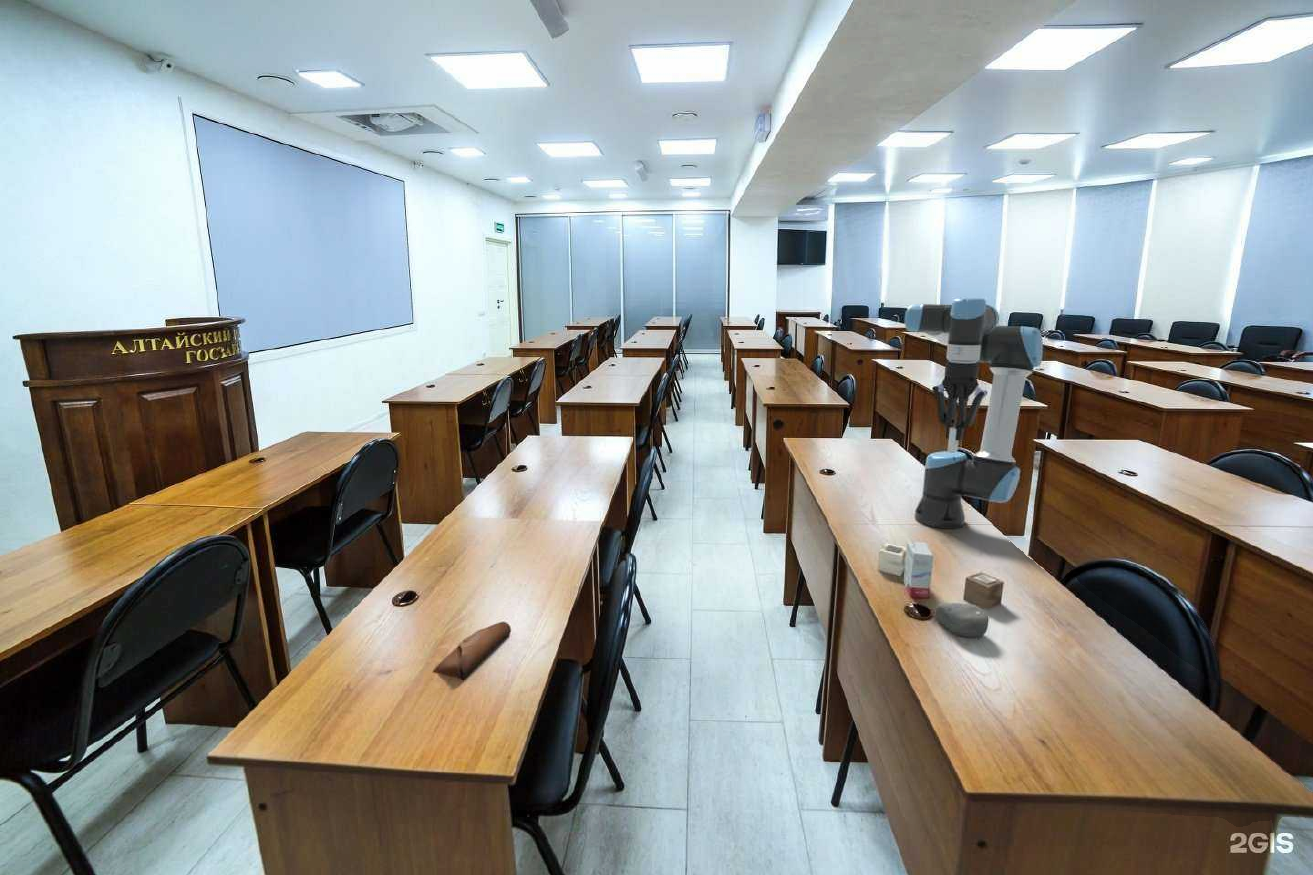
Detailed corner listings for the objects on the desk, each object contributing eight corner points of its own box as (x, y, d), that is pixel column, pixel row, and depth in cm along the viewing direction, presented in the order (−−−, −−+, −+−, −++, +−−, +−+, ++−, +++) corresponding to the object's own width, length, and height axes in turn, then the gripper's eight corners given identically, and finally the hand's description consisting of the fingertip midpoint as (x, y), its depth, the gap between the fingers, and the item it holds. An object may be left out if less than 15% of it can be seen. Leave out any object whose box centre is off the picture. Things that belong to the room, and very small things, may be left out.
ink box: (929, 598, 155) (934, 555, 152) (909, 597, 156) (913, 554, 153) (922, 583, 163) (926, 541, 160) (903, 581, 164) (906, 540, 161)
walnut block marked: (978, 593, 158) (981, 571, 156) (1000, 603, 152) (1004, 581, 151) (963, 599, 155) (965, 576, 153) (985, 609, 150) (988, 586, 148)
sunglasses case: (479, 627, 144) (490, 607, 142) (503, 645, 143) (514, 625, 141) (429, 673, 128) (441, 651, 125) (456, 693, 127) (468, 672, 124)
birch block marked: (884, 562, 175) (886, 542, 174) (906, 568, 172) (908, 547, 170) (877, 570, 171) (879, 549, 169) (899, 576, 167) (901, 555, 166)
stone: (966, 614, 148) (980, 590, 141) (981, 648, 141) (997, 624, 134) (928, 615, 148) (941, 591, 141) (942, 649, 141) (956, 625, 134)
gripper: (929, 360, 157) (921, 449, 163) (984, 364, 148) (973, 459, 153) (942, 357, 162) (933, 444, 168) (995, 362, 153) (984, 453, 158)
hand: (952, 451), depth 160 cm, fingers closed
